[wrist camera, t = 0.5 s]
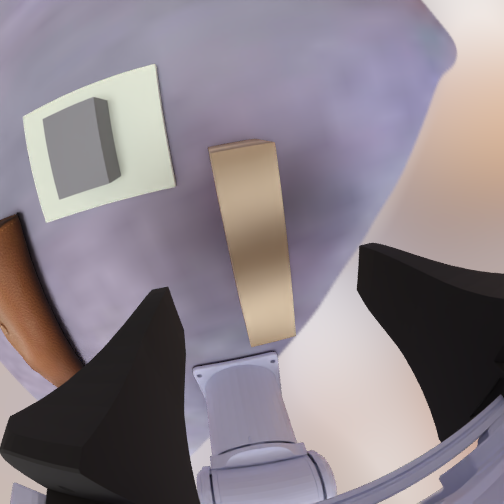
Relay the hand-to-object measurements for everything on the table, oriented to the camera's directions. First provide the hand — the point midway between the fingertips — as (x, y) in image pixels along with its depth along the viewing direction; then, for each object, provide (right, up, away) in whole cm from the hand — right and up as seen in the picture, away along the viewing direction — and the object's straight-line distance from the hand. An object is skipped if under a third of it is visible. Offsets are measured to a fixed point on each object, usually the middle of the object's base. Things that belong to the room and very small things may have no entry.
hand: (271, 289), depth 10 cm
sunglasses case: (-22, -4, +9) cm, 24 cm away
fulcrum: (-11, +8, +4) cm, 14 cm away
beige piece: (-1, +3, +9) cm, 10 cm away
